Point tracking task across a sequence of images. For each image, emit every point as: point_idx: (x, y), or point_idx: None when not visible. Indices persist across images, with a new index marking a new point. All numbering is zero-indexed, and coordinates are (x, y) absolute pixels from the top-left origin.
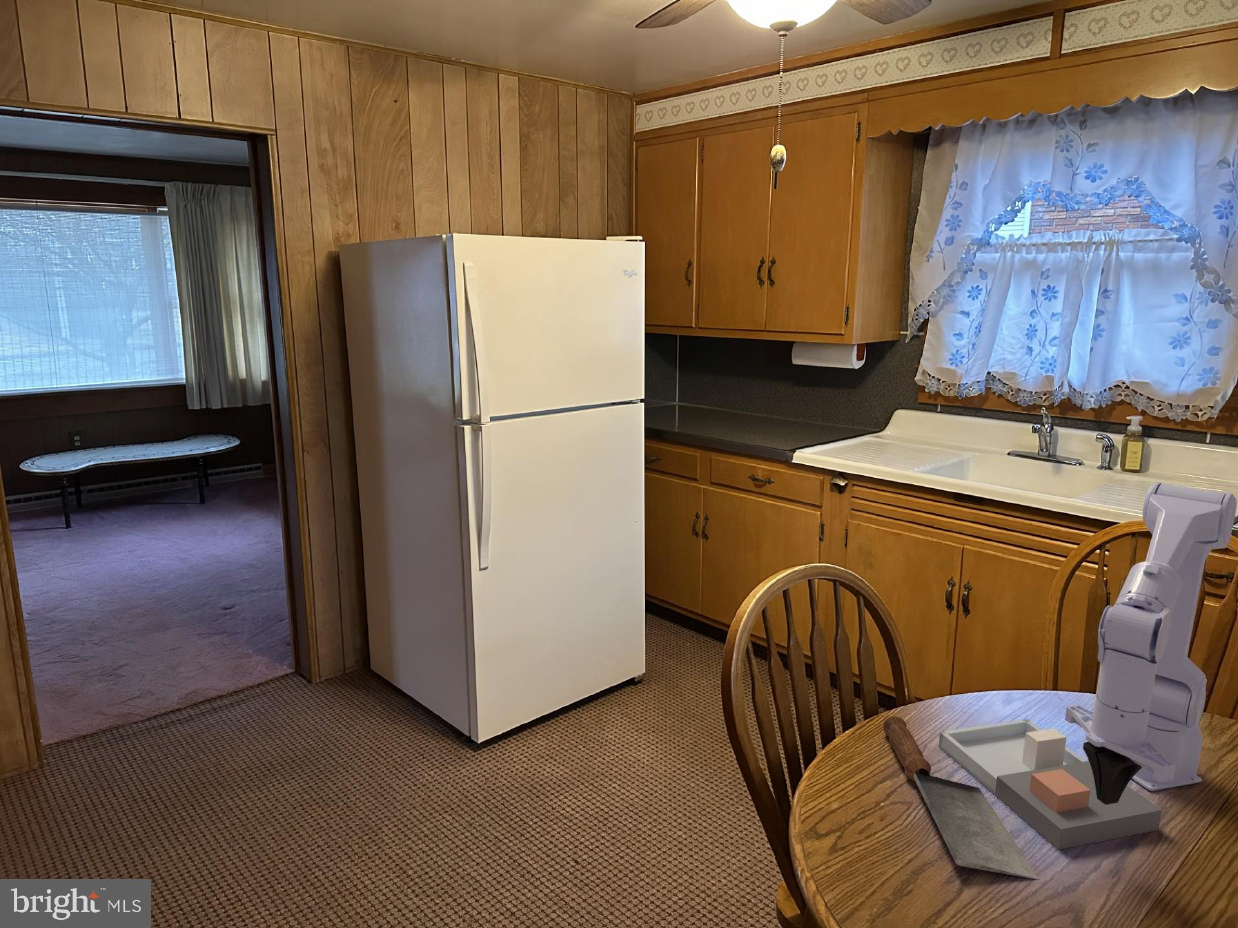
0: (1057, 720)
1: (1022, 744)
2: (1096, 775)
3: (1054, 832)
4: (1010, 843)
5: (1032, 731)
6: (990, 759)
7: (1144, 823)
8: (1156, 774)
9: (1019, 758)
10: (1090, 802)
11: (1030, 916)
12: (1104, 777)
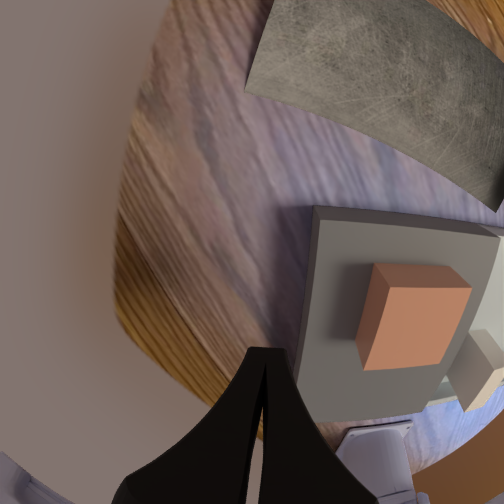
0: (476, 409)
1: None
2: (284, 414)
3: (335, 215)
4: (360, 117)
5: None
6: None
7: None
8: (2, 472)
9: (490, 331)
10: None
11: (165, 21)
12: (232, 424)
